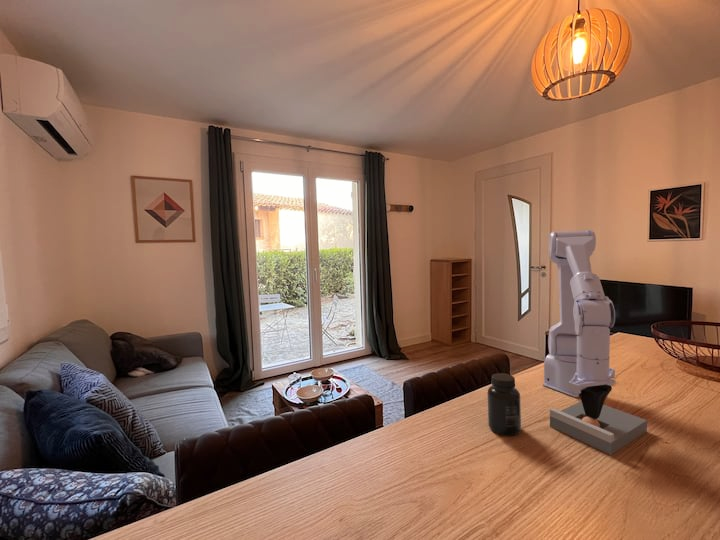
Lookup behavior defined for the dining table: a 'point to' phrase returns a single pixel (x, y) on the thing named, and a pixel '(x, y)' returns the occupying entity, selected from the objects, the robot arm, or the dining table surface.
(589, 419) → the ball
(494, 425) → the supplement bottle
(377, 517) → the dining table surface
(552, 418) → the hole deck
